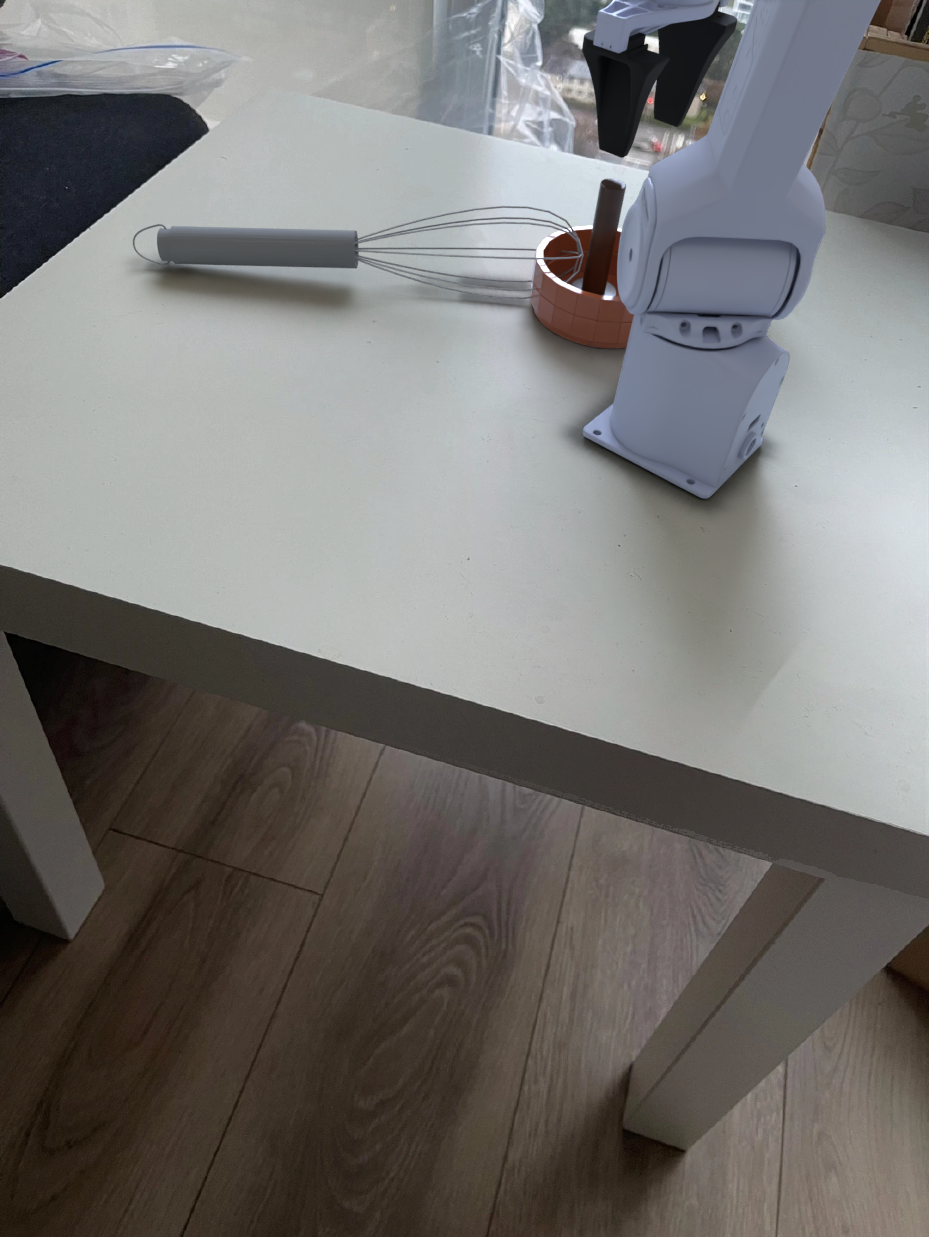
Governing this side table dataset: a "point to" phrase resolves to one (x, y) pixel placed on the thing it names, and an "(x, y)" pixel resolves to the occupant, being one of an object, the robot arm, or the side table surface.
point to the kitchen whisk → (319, 247)
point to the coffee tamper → (603, 239)
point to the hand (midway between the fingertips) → (641, 136)
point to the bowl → (577, 294)
